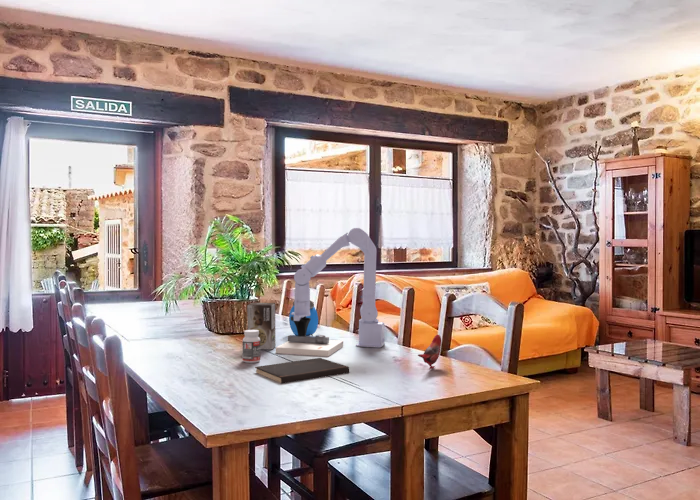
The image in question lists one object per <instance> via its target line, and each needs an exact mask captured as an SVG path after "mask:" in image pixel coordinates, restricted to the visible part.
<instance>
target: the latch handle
mask: <svg viewBox="0 0 700 500" xmlns="http://www.w3.org/2000/svg"><path fill="white" fill-rule="evenodd" d="M329 340H330V336H326V335H323V334H318V335H313V336H311V335H308V336H299V335H295V334H288V336H287V342H288V341H290V342H308V343H318V344H322V343H325V344H328V343H329Z"/></svg>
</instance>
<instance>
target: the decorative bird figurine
mask: <svg viewBox="0 0 700 500" xmlns="http://www.w3.org/2000/svg"><path fill="white" fill-rule="evenodd" d="M441 347H442V337H441V335H440V334H436V335H435V336H434V337H433V338H432V341H431V343H430V344H429V345H428V346H427V348H425V350H424V352H423V353H421V354H417V356H418V357H419V358H422V359H423V361H424V363H425V364H427V365H428V366H429V368H428V370H434V369H435V367H436V365H434V364H435V363H436V362H437V361H438V360H439V358H440V357H439V356H440V353H441Z"/></svg>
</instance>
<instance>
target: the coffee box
mask: <svg viewBox="0 0 700 500" xmlns="http://www.w3.org/2000/svg"><path fill="white" fill-rule="evenodd" d="M246 307H247V311H246V312H247V330H259V335H258V337H259V338H260V350H273V349H274V348H276V347H277V346H276V302H251V303H249V304H247V305H246Z"/></svg>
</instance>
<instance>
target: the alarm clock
mask: <svg viewBox="0 0 700 500" xmlns="http://www.w3.org/2000/svg"><path fill="white" fill-rule="evenodd" d="M294 304H295V301H292V307H291V309H290V311H289V316H288V317H289V318H288V323H289V327H290V330H291V332H292V333H293V335H298V332H297V328H296V325H295V323H294V321H293V319H294V315H291V313H293V312H294ZM306 318H311V320H310V322H309V324H308V327H307V332H306V336H314V334H315V333H316V332H317V329H318V325H319V315H318V311H317V309H316V307H315V304H314V302H313V301H311V300H310V316H307V317H306Z"/></svg>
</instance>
